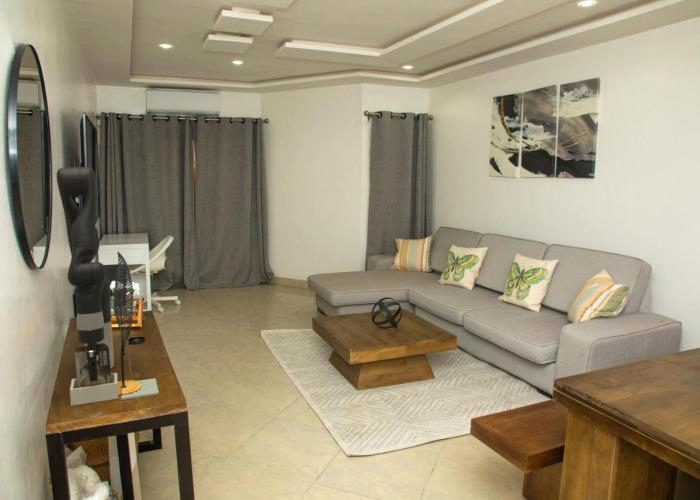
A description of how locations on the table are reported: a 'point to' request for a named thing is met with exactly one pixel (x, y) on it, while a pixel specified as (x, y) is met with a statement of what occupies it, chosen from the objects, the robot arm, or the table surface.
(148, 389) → the mat
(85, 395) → the open box
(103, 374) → the coffee box
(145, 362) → the table surface
